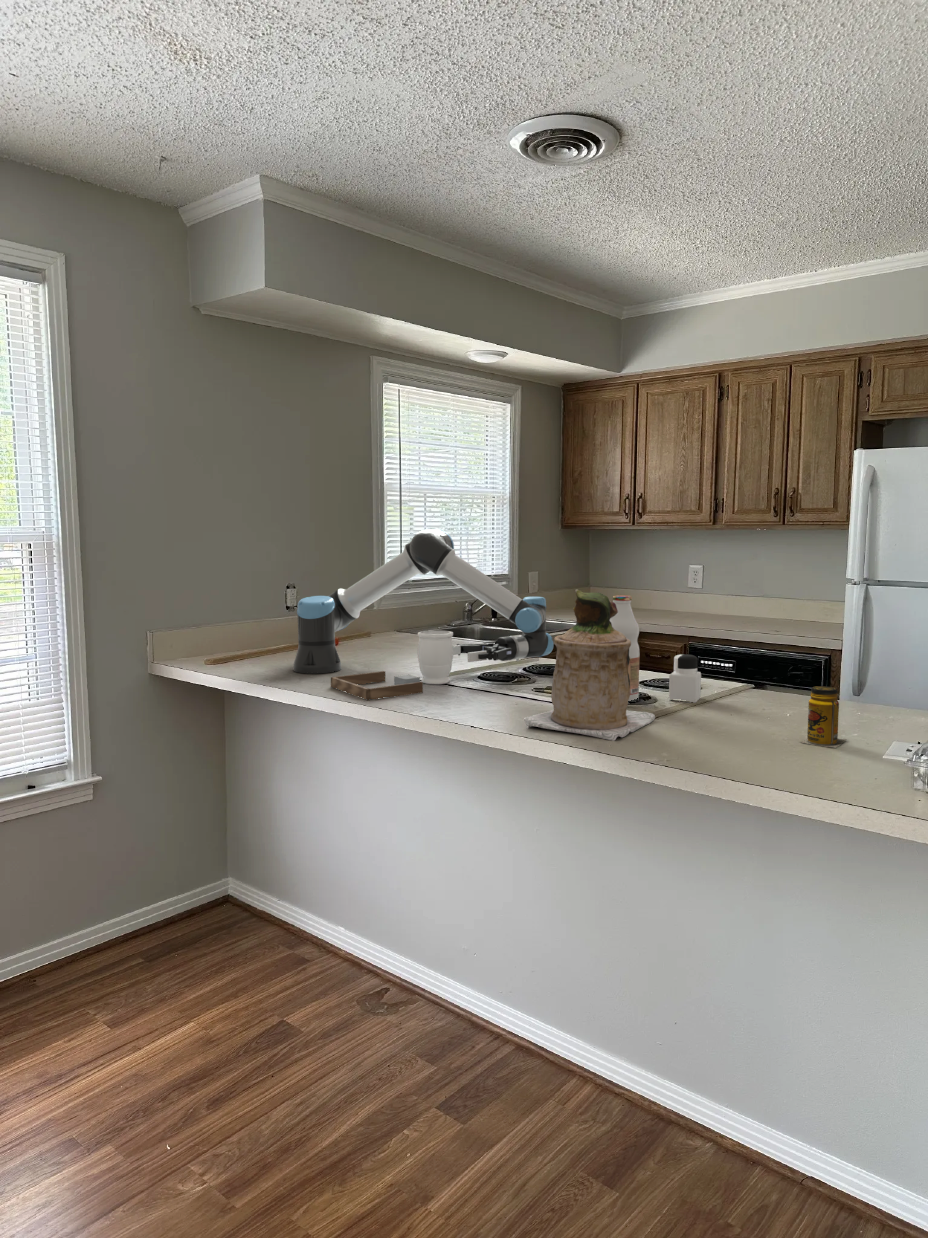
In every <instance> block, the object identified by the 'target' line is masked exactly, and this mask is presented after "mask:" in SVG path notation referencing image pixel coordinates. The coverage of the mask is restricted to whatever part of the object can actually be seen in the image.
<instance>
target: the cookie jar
mask: <svg viewBox="0 0 928 1238" xmlns="http://www.w3.org/2000/svg"><path fill="white" fill-rule="evenodd" d="M574 591H575V592H574V593H575V595H576V599H575V600H574V602H575V606H573V608H572V610H573V612H574V617H575V619H576V623H575V625H574V626H572V627H571V628H570V629H568V630H567V631H565V633H564V634H559V635H556V636H555V637H554V638H553V644H554V645H555V647H556V657H555V658H556V659H555V665H554V670H553V674H552V676H553V677H552V684H551V702H552V706H553V709H550V710H549V711H544V712H541V713H540V712H539V713H537V714H534V715H529V716H525V717H523V719H522V720H523V721H524V723H525V725H526V729H529V728H530V727H538V728H541V729H547V730H553V731H554V730H555V731H559V732H567V733H574V734H580V735H585V736H588V737H589V736H590V737H594V738H598V739H599V738H600V739H603V740H609V741H616V740H617V738H619V737H620V738H624V737H626V736H628V734H630V733H634V732H636V731H638V730H639V729H641V728H643V727H645V726H646V725H649V724H651V723H652V722H653V721H655V718H656V715H655V714H654V713H653V712H647V711H636V710H628V709H627V707H628V705H629V703H628V700H629V697H630V679H629V674H628V667H629V661H630V657H629V648H630V646H631V641H630V640H629V639H627V638H626V637H625V635H624V634H622V633H621V632H619V631H616V630H615V629H614V628H613V627H612V624H611V622H610V618H612V617H613V616H615V615H616V614H617V613H618V610H617V608H616V604H615V603H614V602H613V600H612V601H611V600H610V598H609V597H608V596H607V595H605V594H603V593H602V592H582V590H579V589H575V590H574Z"/></svg>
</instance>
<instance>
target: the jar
mask: <svg viewBox="0 0 928 1238" xmlns="http://www.w3.org/2000/svg"><path fill="white" fill-rule="evenodd" d="M453 636H454V632H453V631H449V630H423V631H419V632H417V637H418V638H419V639H418V643H417V659H418V666H419V671H420V674H421V675H422V676H423V677H422V678H421V679H420V682H423V684H427V685H443V684H448V683H450V682H451V679H450V677H449V676H450V674H451V670H452V666H453V660H454V655H453V646H454V645H453V644H454V643H453V640H452V637H453Z"/></svg>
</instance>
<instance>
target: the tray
mask: <svg viewBox="0 0 928 1238" xmlns="http://www.w3.org/2000/svg"><path fill="white" fill-rule="evenodd" d="M382 681H384V682H386V671H385V670H382V671H380V670H379V671H373V672H372V671H371V672H364V673H356V674H346V675H339V676H330V688H331V687H333V688H332V689H334V688H337V689H339V690H342V691H346V692H347V693H346V694H348V693H350V694H349V695H351V694H353V695H352V696H354V695H355V696H354V697H356V696H359V697H362V698H364V699H363V700H365V699H367V700H366V701H370V700H369V699H375V700H379V699H378V698H382V699H384V698H383V697H389V698H395V697H394V696H396V697H402V696H410V695H417V694H422V693H423V692H424V683H423V682H422V681H420V682H414V683H407V684H399V685H394V684H393V685H386V686H385V685H384V686H377V687H376V686H375V687H371V688H370V687H365V686H363V685H367V684H366V683H368V684H372V683H371V682H376V683H382ZM357 684H360V685H357ZM337 689H336V690H337ZM339 690H338V691H339ZM342 691H341V692H342ZM359 697H358V698H359ZM362 698H361V699H362Z"/></svg>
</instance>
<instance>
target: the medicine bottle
mask: <svg viewBox="0 0 928 1238" xmlns="http://www.w3.org/2000/svg"><path fill="white" fill-rule="evenodd" d="M668 681H669V684H668V685H669V686H668V699H669V698H670V699H681V700H686V701H690V702H689V703H691V702H693V703H692V704H695V703H697V702H698V701H699V700H700V699H701V695H702V693H701V692H702V691H701V690H702V688H701V686H702V684H701V683H702V673H701V671H698V657H697V656H696V655H693V654H684V653H683V654H681V653H680V654H677V655H675V656H674V657H673V672H671V673H669V680H668Z"/></svg>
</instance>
